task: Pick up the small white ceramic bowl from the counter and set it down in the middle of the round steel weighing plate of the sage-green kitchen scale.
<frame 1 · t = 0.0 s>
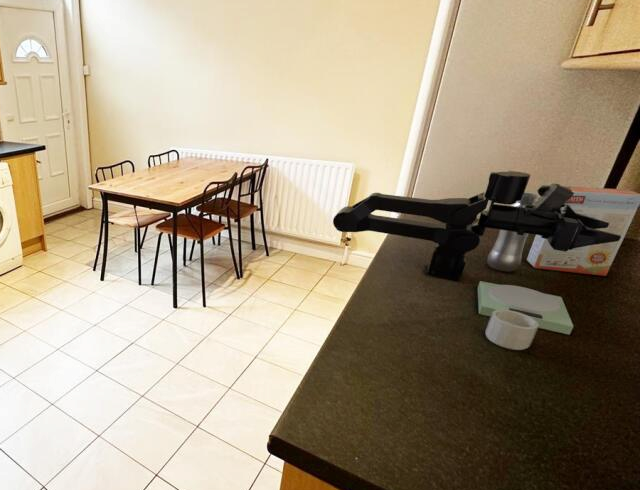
hand: (614, 231, 86), 17 cm above the kitchen counter, tool horizontal, fingers open, 9 cm apart
scale: (518, 309, 90), on the kitchen counter
cracker box: (563, 268, 107), on the kitchen counter
silver metal bottle: (500, 269, 108), on the kitchen counter
bowl: (506, 340, 80), on the kitchen counter
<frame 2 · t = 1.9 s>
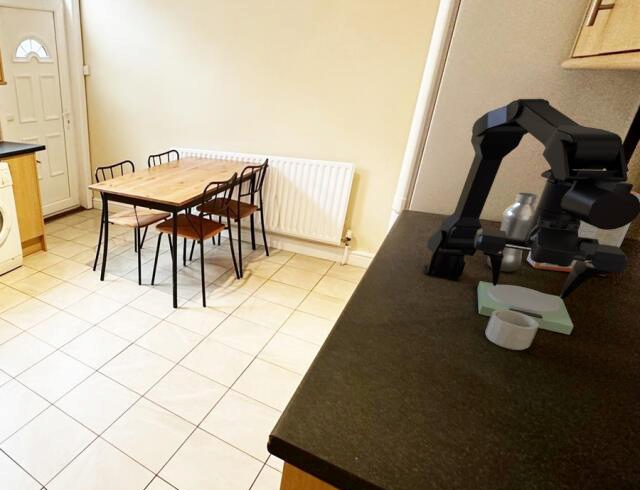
hand: (526, 291, 75), 11 cm above the kitchen counter, tool pointing down, fingers open, 9 cm apart
nothing on the kitchen counter moved.
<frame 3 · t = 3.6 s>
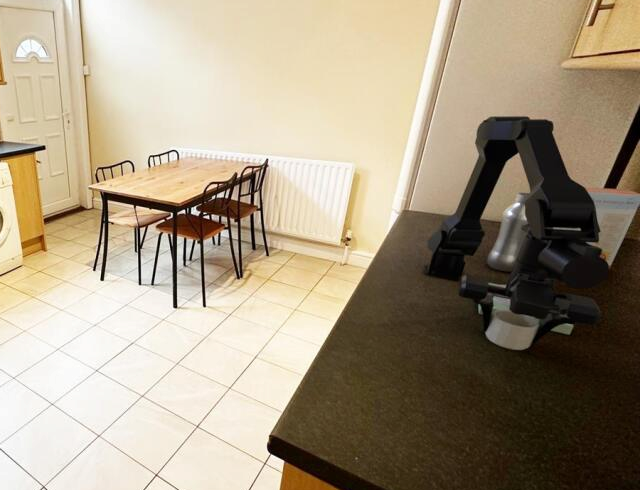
hand: (507, 336, 79), 1 cm above the kitchen counter, tool pointing down, fingers closed on bowl, 6 cm apart
bowl: (506, 340, 80), on the kitchen counter, touching gripper
everything else where it was.
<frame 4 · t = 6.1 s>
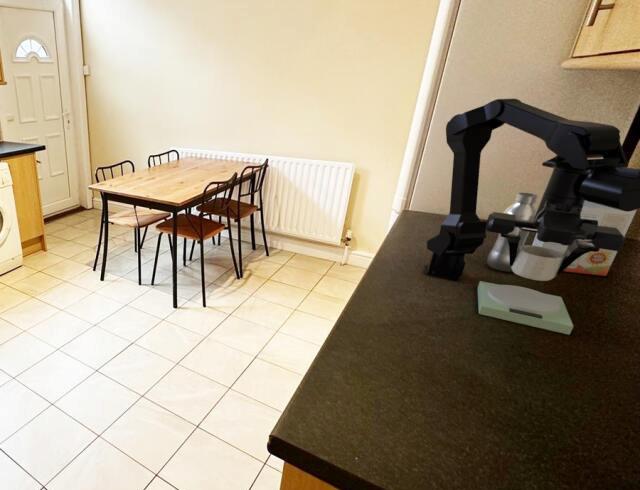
hand: (533, 269, 84), 11 cm above the kitchen counter, tool pointing down, fingers closed on bowl, 6 cm apart
bowl: (531, 274, 84), point 10 cm above the kitchen counter, touching gripper
everything else where it was.
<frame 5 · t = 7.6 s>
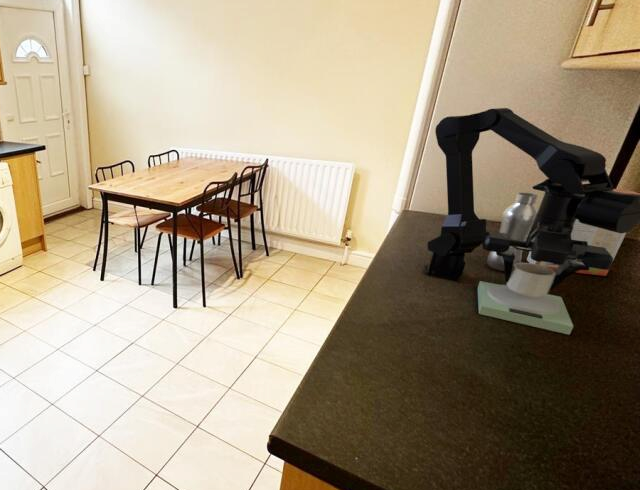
hand: (527, 285, 88), 6 cm above the kitchen counter, tool pointing down, fingers closed on bowl, 6 cm apart
bowl: (525, 290, 88), point 5 cm above the kitchen counter, touching gripper
everything else where it was.
when the fingers open (4 cm above the kitchen counter, at t = 8.7 s): bowl stays where it is, resting on scale.
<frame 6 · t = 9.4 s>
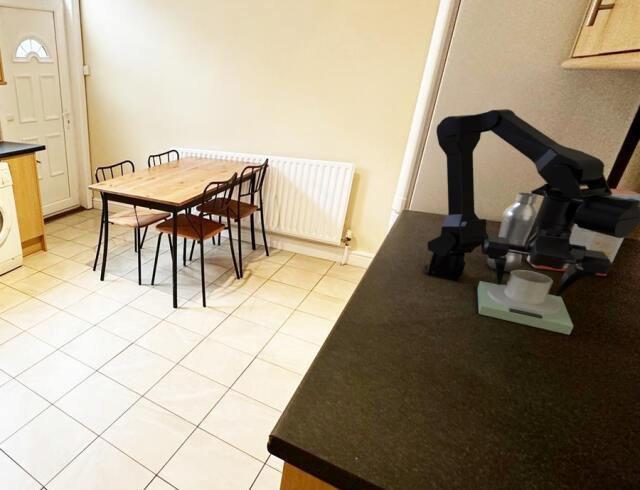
hand: (526, 289, 88), 5 cm above the kitchen counter, tool pointing down, fingers open, 9 cm apart
bowl: (523, 297, 89), point 3 cm above the kitchen counter, touching scale
everything else where it was.
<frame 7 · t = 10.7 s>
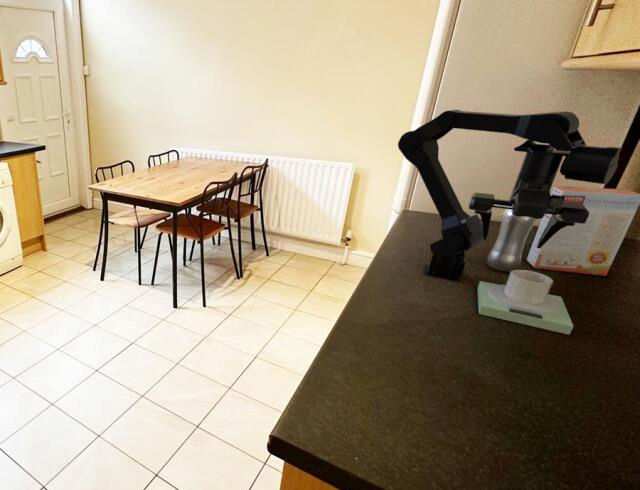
hand: (510, 243, 93), 12 cm above the kitchen counter, tool pointing down, fingers open, 9 cm apart
nothing on the kitchen counter moved.
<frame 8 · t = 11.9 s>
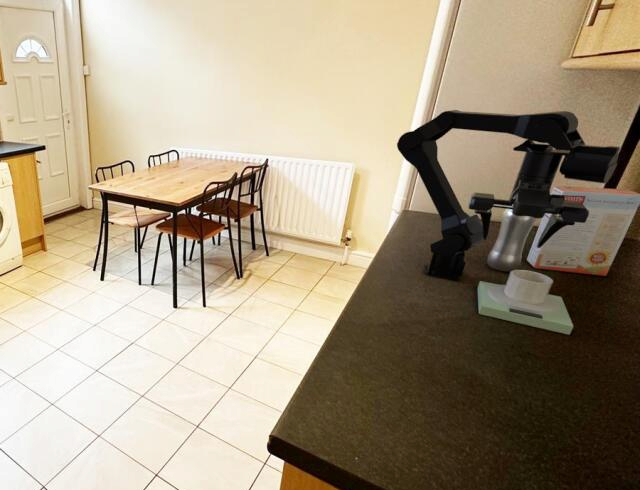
hand: (510, 243, 93), 12 cm above the kitchen counter, tool pointing down, fingers open, 9 cm apart
nothing on the kitchen counter moved.
at the end: bowl inside the target area on the scale (0.0 cm from its centre), point 2.8 cm above the scale's base; bowl touching scale; bowl tilted 0° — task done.
